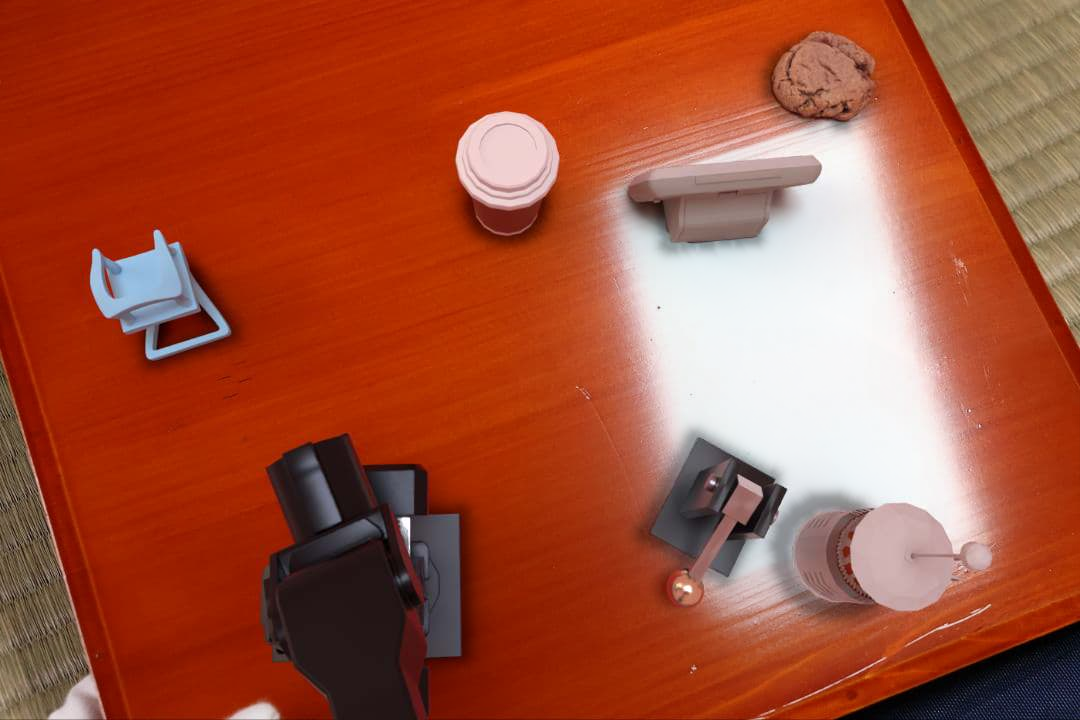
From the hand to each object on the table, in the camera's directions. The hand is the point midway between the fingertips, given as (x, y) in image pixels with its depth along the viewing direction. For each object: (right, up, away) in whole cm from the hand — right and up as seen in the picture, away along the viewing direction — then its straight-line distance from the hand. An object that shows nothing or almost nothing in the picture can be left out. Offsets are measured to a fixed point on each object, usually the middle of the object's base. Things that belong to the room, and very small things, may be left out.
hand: (399, 587), depth 73 cm
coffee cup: (+8, +34, +13) cm, 38 cm away
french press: (+40, +1, +7) cm, 40 cm away
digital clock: (+28, +35, +14) cm, 47 cm away
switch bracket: (+27, +6, +7) cm, 29 cm away
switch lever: (+26, +4, 0) cm, 27 cm away
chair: (-22, +24, +9) cm, 34 cm away
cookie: (+41, +48, +18) cm, 65 cm away
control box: (0, -1, +4) cm, 4 cm away
